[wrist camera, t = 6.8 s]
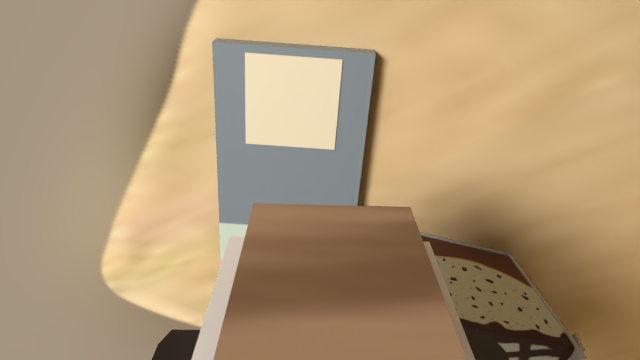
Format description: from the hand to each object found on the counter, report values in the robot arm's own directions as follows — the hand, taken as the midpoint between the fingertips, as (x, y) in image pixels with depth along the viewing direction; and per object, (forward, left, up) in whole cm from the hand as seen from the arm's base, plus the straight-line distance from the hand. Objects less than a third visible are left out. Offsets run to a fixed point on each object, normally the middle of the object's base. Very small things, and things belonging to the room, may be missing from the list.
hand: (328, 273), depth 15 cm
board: (+6, -2, -17) cm, 18 cm away
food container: (+13, +10, -17) cm, 24 cm away
